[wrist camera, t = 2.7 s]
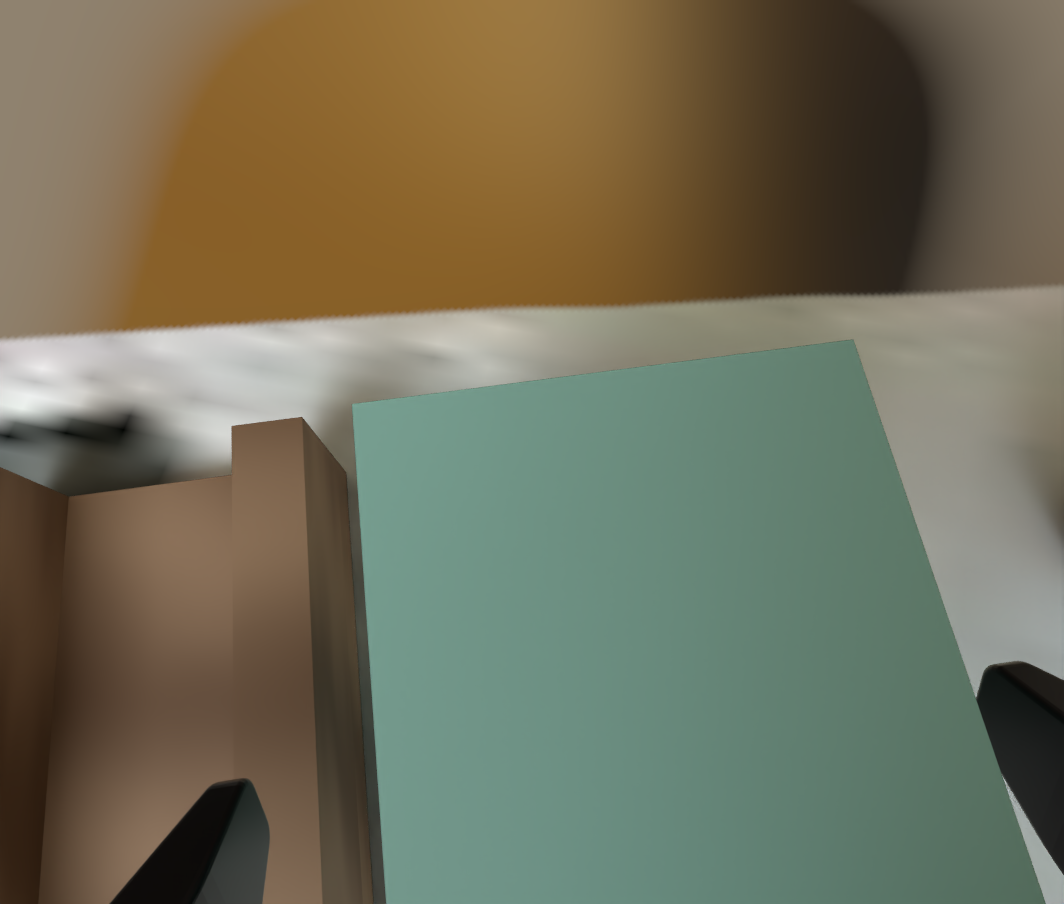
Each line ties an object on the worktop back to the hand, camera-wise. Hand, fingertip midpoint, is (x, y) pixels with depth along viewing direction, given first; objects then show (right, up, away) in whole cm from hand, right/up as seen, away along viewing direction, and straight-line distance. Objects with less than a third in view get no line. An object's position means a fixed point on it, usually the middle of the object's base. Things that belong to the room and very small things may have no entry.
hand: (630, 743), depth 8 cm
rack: (-9, -3, +8) cm, 13 cm away
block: (0, -2, +9) cm, 9 cm away
